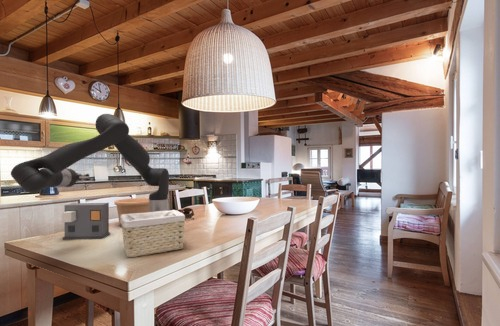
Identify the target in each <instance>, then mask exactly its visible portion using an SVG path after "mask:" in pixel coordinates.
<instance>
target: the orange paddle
mask: <svg viewBox="0 0 500 326" xmlns="http://www.w3.org/2000/svg"><path fill="white" fill-rule="evenodd" d="M91 220H101V210H92V211H91Z"/></svg>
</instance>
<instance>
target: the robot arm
mask: <svg viewBox="0 0 500 326" xmlns="http://www.w3.org/2000/svg"><path fill="white" fill-rule="evenodd" d="M95 120H96V121H95V129H96V131H97V133H98V135H96V136H94V137H92V138H89V139H85V140H80V141H76V142H72V143H68V144H65V145H62V146H61V147H58V148H57V149H55V150H53V151H51V152H50V153H48V154H46V155H43V156H40V157H37V158H33V159H30V160H26V161H24V162H21V163H17V164H16V165H15V166H14V167H13V168H12V169H11V172H10V176H11V177H12V178H13V180H14V181H15V182H16V184H18V185H19V186H20V187H21V188H22V189H23V191H25V192H27V193H29V194H36V193H38V192H40V191H42V190H45V189H48V188H71V187H73V186H74V185H75V184H77V183H80V182H84V181H85V182H86V181H90V173H86V174H82V173H79V172H76V171H75V170H74V169H72V168H69V167H71V166H72V165H74V164H76V163H77V162H79V161H81V160H82V159H85V158H87V157H88V156H91V155H93V154H96V153H98V152H102V151H103V150H105V149H107V148H110V147H112V146H114V147H115V148H116V150H117V151H118V152H119V154H120V155H121V156H122V157H123V158H124V159H125V161H127V162H128V164H130V165H131V166H132V167H133V169H135V170H136V171H137V173H139V175H140V176H141V178H142V179H143V180H144V182H145V183H146V184H147V185H148V186H150V187H158V188H157V190H156V191H154V192H152V193H150V194H149V196H148V198H149V212H157V211H169V208H168V207H169V205H168V204H169V198H168V197H169V191H170V189H169V186H170V174H169V170H168V169H167V168H163V167H161V168H160V167H159V168H157V167H156V168H155V167H151V166H150V165H149V164H150V161H151V158H150V154H149V152H148V151H147V149H145V147H144V146H143V145H142V144H141V143H139V141H137V140H136V139H134V137H133V136H131V135H130V134H129V133H130V128H129V126H128V124H127V123H126V122H124V121H123V120H122V119H121V118H119V117H118V116H115V115H114V114H111V113H103V114H100V115H99V116H98V117H97V118H96V119H95Z"/></svg>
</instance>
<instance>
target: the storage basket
mask: <svg viewBox="0 0 500 326" xmlns="http://www.w3.org/2000/svg"><path fill="white" fill-rule="evenodd" d="M120 217H121V220H120V223H121V224H122V227H121V229H122V231H121V232H122V233H121V234H122V239H123V250H124V252H125V254H126V257H127V258H135V257H139V256H140V257H141V256H147V255H150V256H151V255H152V254H157V253H165V252H169V251H177V250H182V249H184V236H185V235H184V233H185V231H184V230H185V221H186V219H185V215H184V214H183V213H181V212H179V211H178V210H176V209H171V210H168V211H157V212H146V213H132V214H122V215H121V216H120Z"/></svg>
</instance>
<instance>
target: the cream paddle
mask: <svg viewBox="0 0 500 326" xmlns="http://www.w3.org/2000/svg"><path fill="white" fill-rule="evenodd" d="M75 220H77V211H66V212H65V211H63V212H61V222H62V223H65V222H73V221H75Z"/></svg>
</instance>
